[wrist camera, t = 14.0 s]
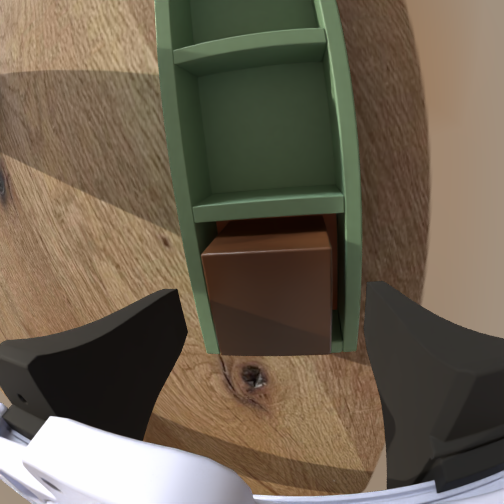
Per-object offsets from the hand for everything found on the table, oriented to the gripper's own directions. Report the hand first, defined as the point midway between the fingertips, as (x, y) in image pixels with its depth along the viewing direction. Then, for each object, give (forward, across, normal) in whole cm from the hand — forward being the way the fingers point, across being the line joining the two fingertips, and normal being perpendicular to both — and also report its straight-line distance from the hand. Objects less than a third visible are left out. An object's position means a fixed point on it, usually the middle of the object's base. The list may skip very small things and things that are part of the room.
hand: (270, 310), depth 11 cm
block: (+5, 0, 0) cm, 5 cm away
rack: (+5, 0, -17) cm, 18 cm away
